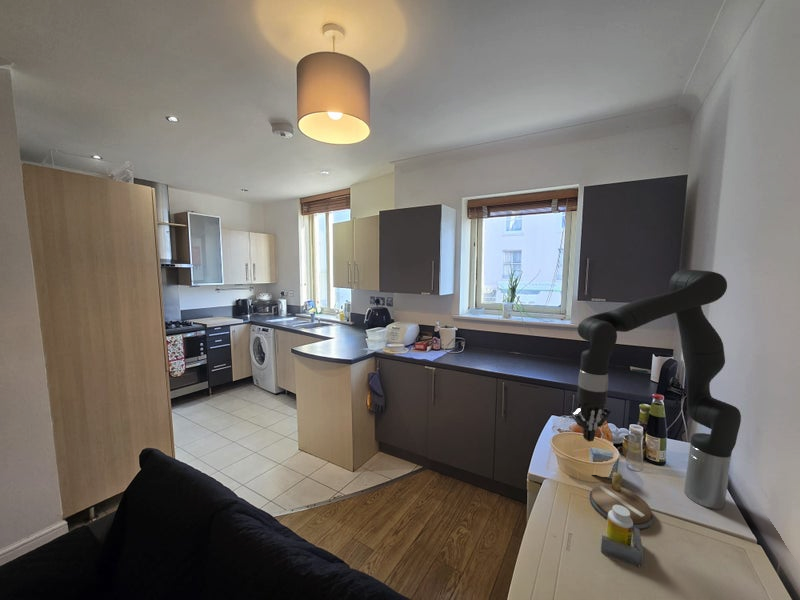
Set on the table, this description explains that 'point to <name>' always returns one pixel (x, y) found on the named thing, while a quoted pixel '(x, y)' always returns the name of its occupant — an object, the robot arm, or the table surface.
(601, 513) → the base
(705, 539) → the table surface
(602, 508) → the disc
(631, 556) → the centring stop
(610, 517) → the supplement bottle
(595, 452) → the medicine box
